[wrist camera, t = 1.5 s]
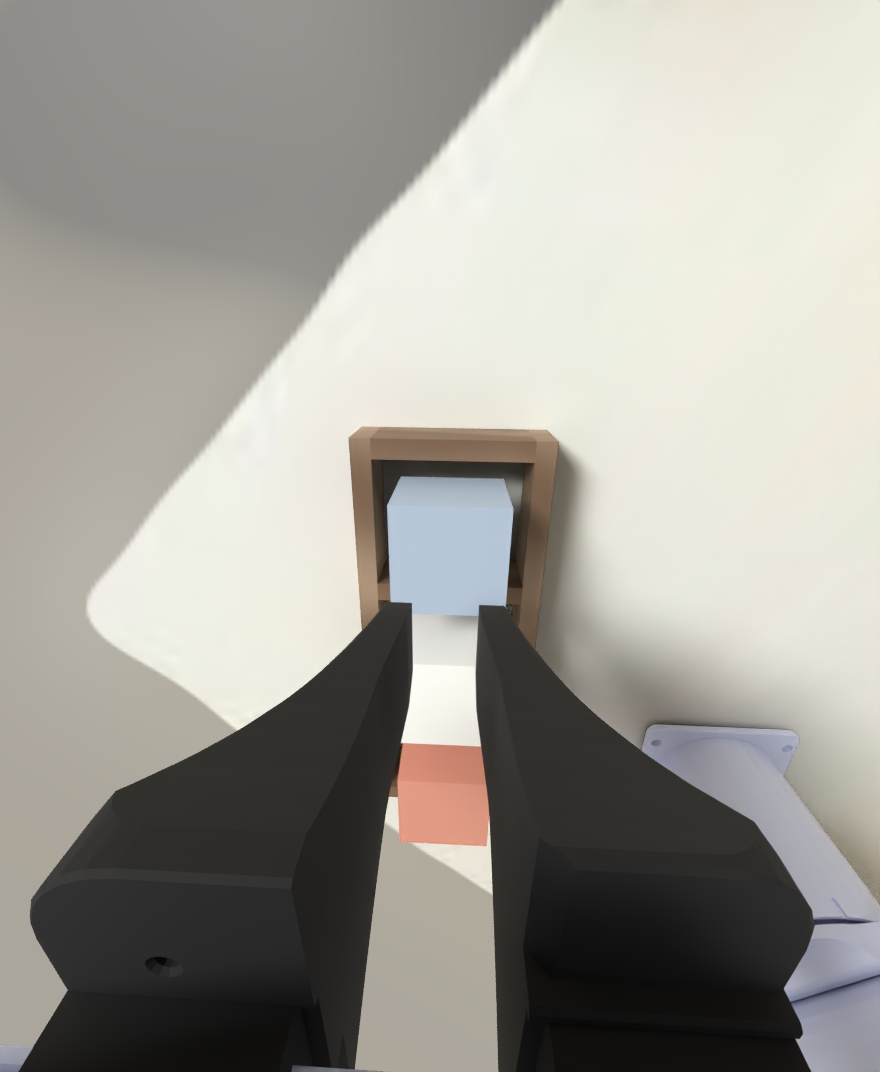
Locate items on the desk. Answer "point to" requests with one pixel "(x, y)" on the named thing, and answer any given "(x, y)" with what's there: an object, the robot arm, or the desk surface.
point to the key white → (443, 681)
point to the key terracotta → (442, 795)
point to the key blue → (449, 544)
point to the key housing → (453, 446)
